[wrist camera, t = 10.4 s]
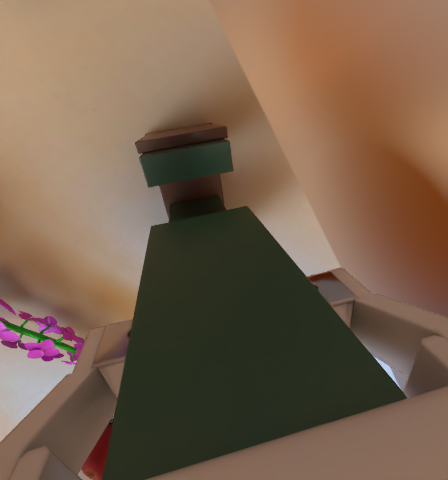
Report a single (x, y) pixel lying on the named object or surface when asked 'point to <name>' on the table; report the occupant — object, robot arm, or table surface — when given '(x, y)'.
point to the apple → (98, 456)
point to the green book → (230, 350)
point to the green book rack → (187, 168)
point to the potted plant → (40, 337)
